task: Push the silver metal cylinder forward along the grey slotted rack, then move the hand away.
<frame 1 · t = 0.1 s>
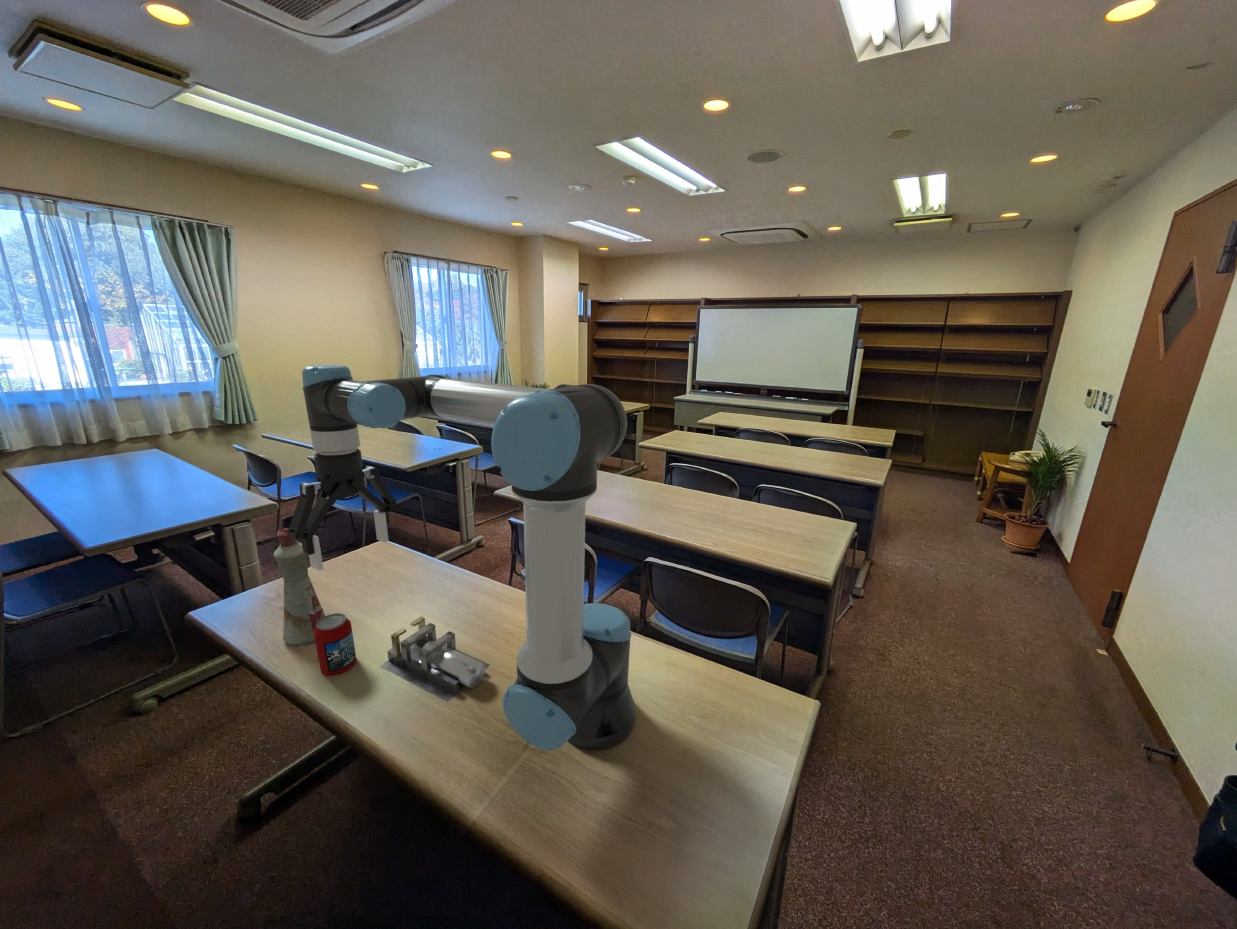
hand: (352, 553, 92), 28 cm above the table, fingers open, 13 cm apart
beverage can: (339, 669, 100), on the table
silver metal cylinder: (452, 673, 98), point 1 cm above the table, touching grey slotted rack
grey slotted rack: (435, 669, 101), on the table
bottle: (306, 636, 110), on the table
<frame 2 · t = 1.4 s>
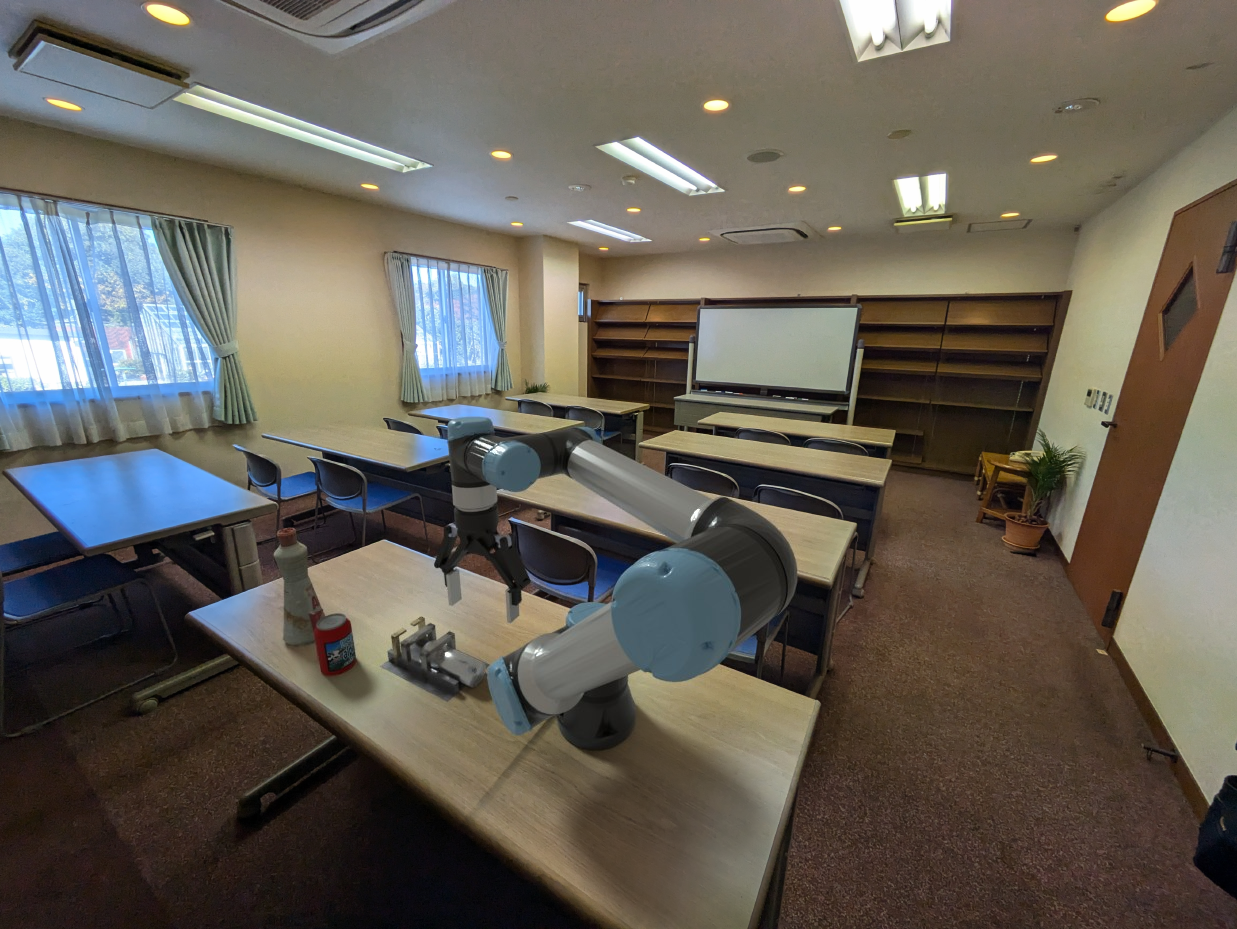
hand: (483, 610, 88), 21 cm above the table, fingers open, 13 cm apart
nothing on the table moved.
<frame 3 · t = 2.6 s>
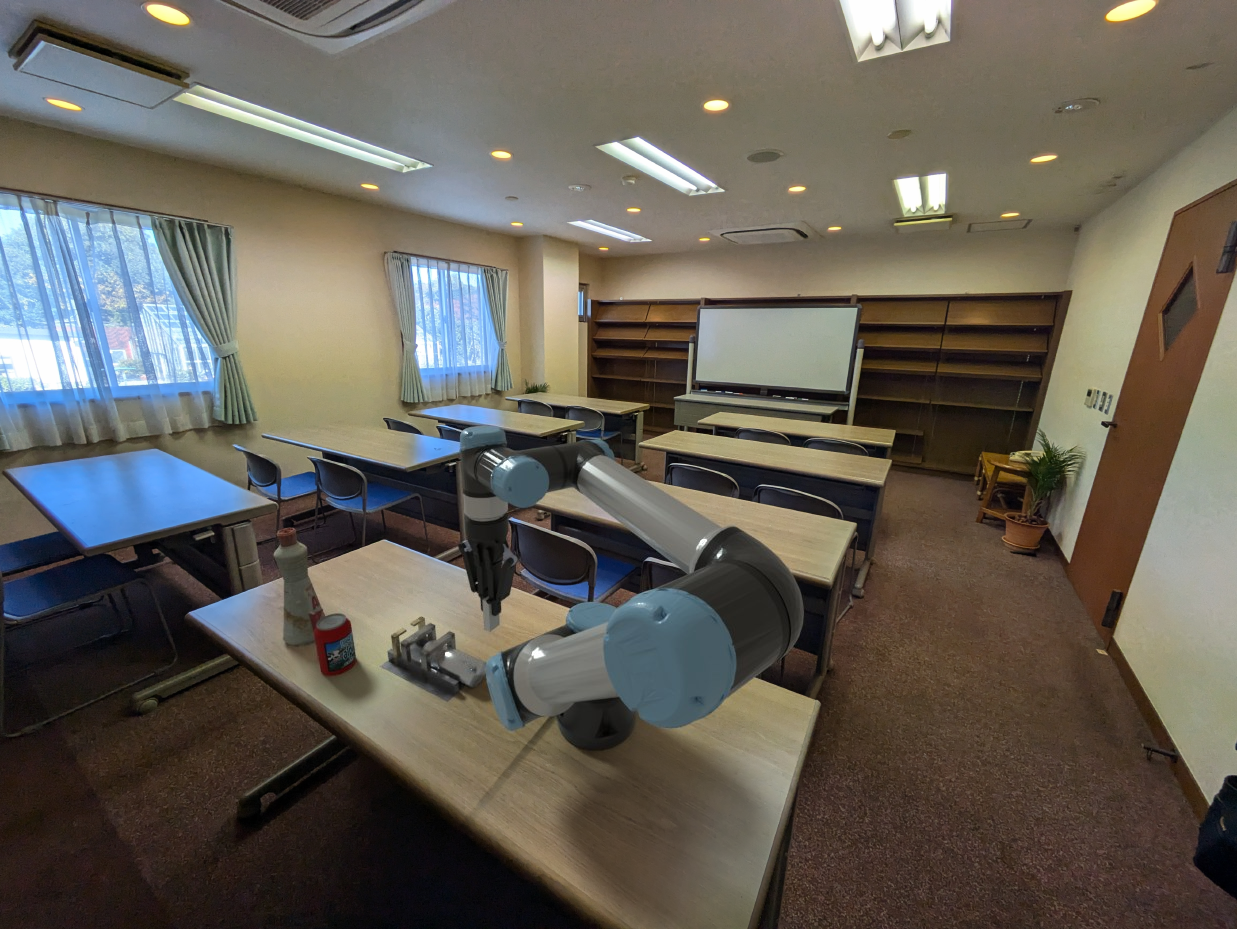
hand: (491, 626, 89), 17 cm above the table, fingers closed
nothing on the table moved.
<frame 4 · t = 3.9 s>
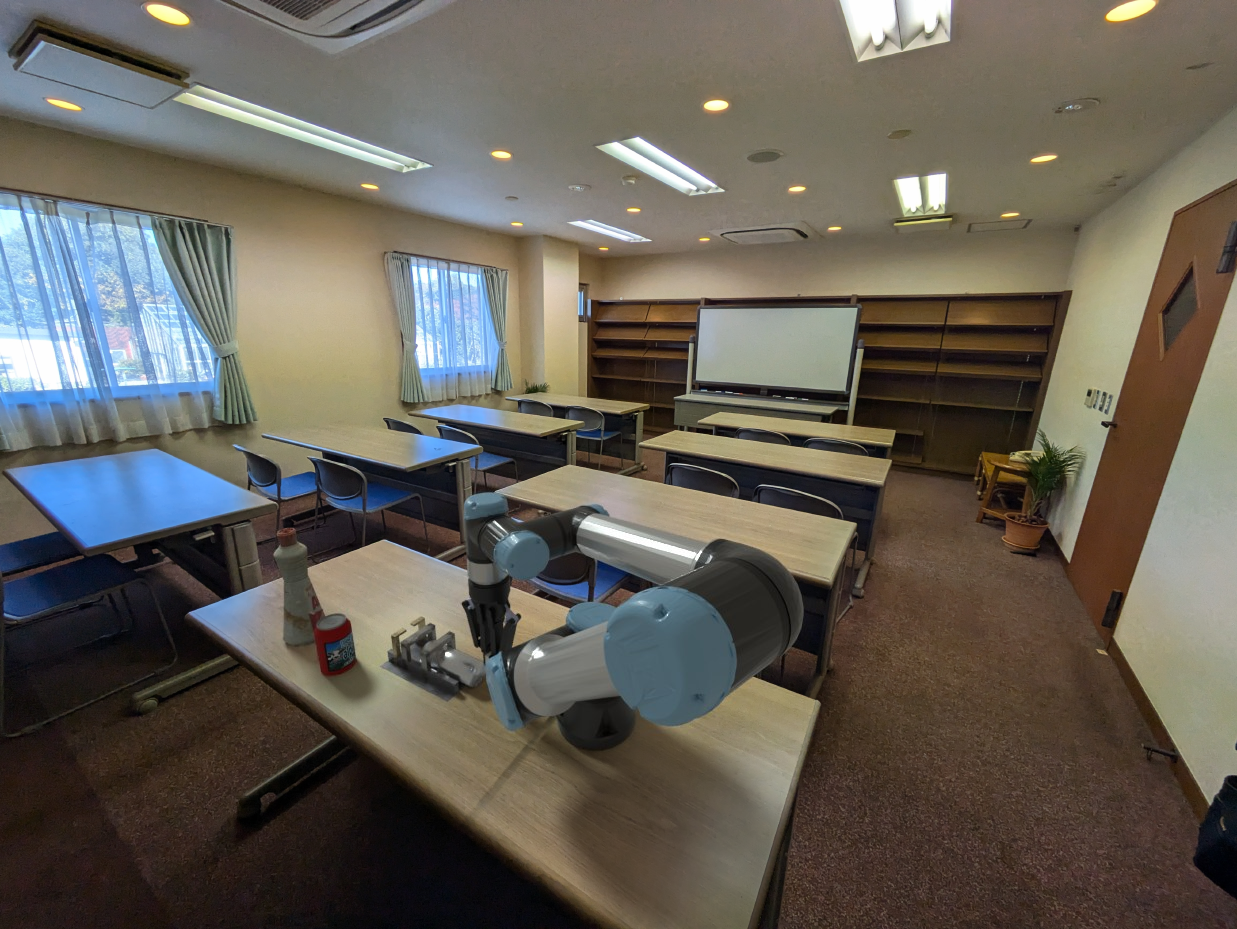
hand: (494, 679, 92), 4 cm above the table, fingers closed
nothing on the table moved.
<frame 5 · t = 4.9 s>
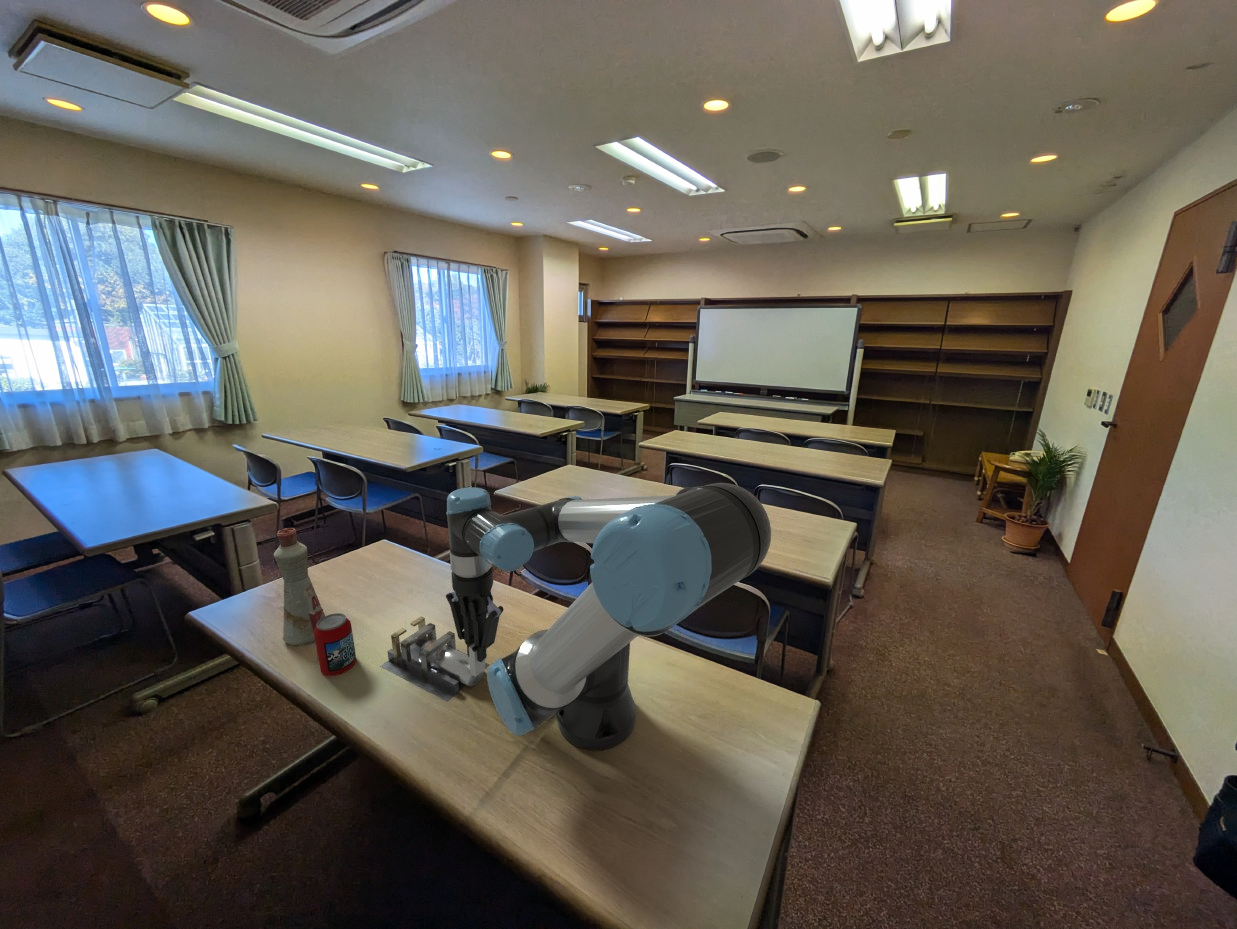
hand: (477, 671, 94), 5 cm above the table, fingers closed
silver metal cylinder: (450, 672, 99), point 1 cm above the table, tilted 7°, touching grey slotted rack, gripper
everything else where it was.
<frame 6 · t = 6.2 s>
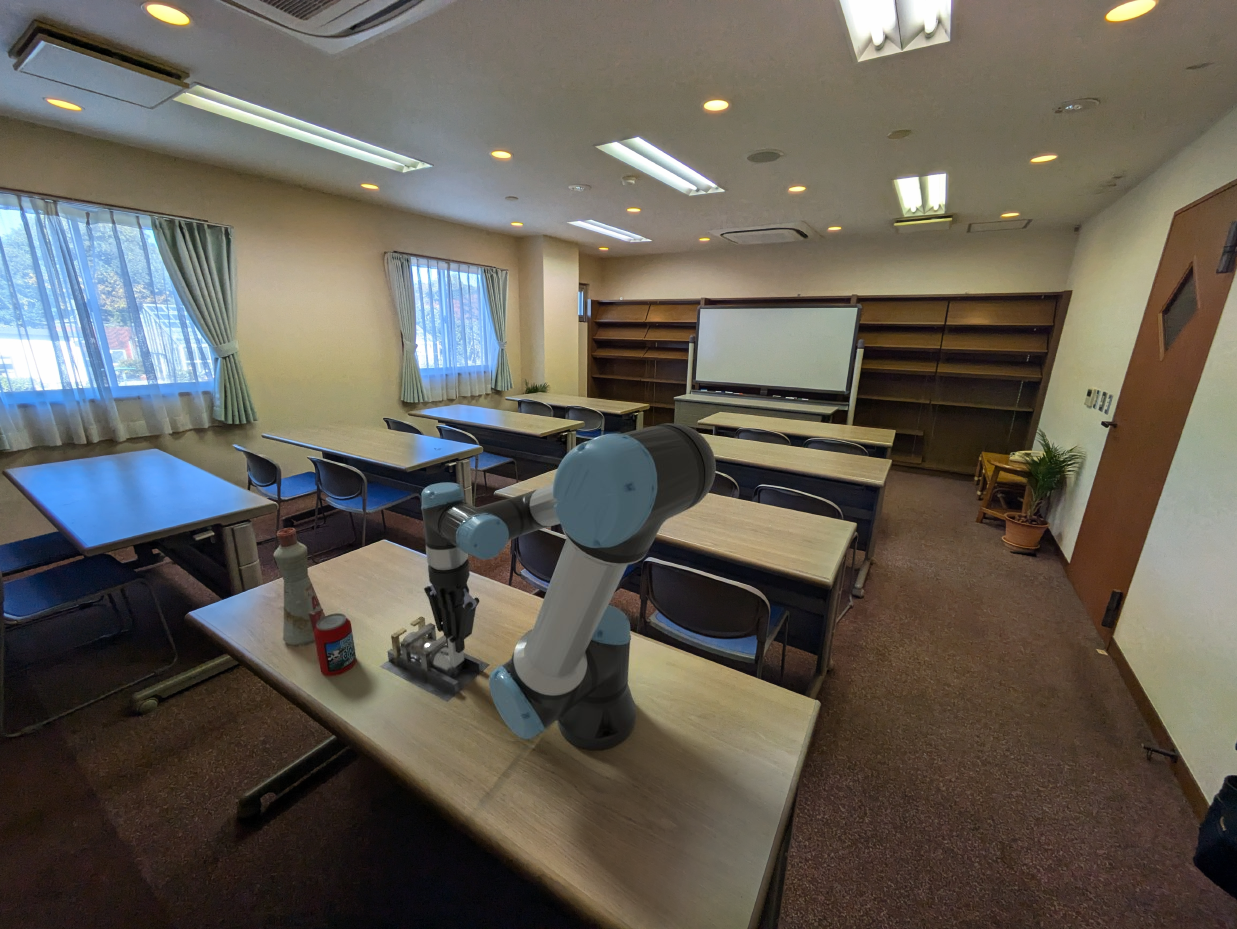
hand: (457, 662, 97), 4 cm above the table, fingers closed
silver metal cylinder: (432, 663, 101), point 1 cm above the table, tilted 6°, touching grey slotted rack, gripper
everything else where it was.
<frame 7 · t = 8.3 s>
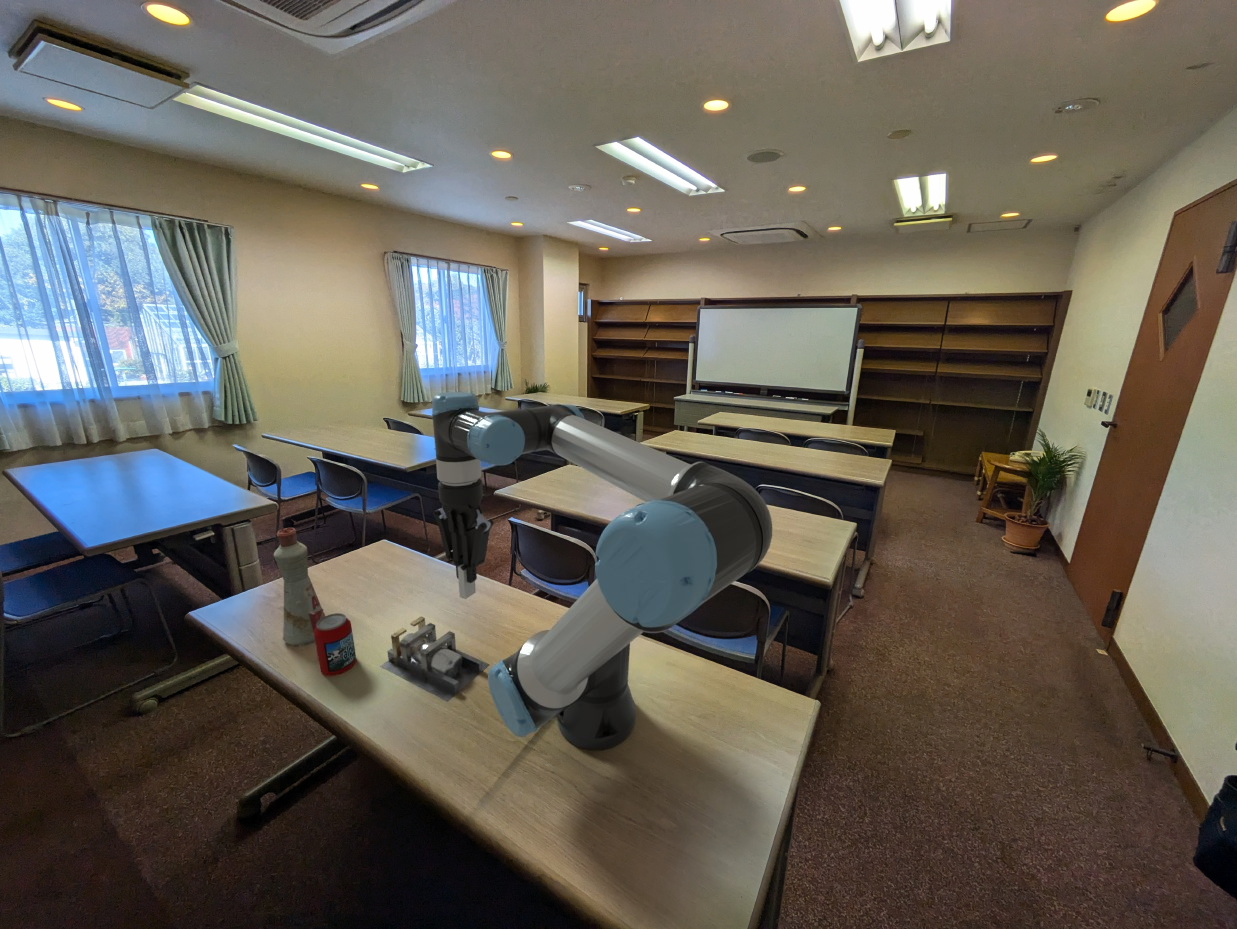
hand: (467, 594, 90), 22 cm above the table, fingers closed
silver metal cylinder: (431, 663, 101), point 1 cm above the table, tilted 7°, touching grey slotted rack
everything else where it was.
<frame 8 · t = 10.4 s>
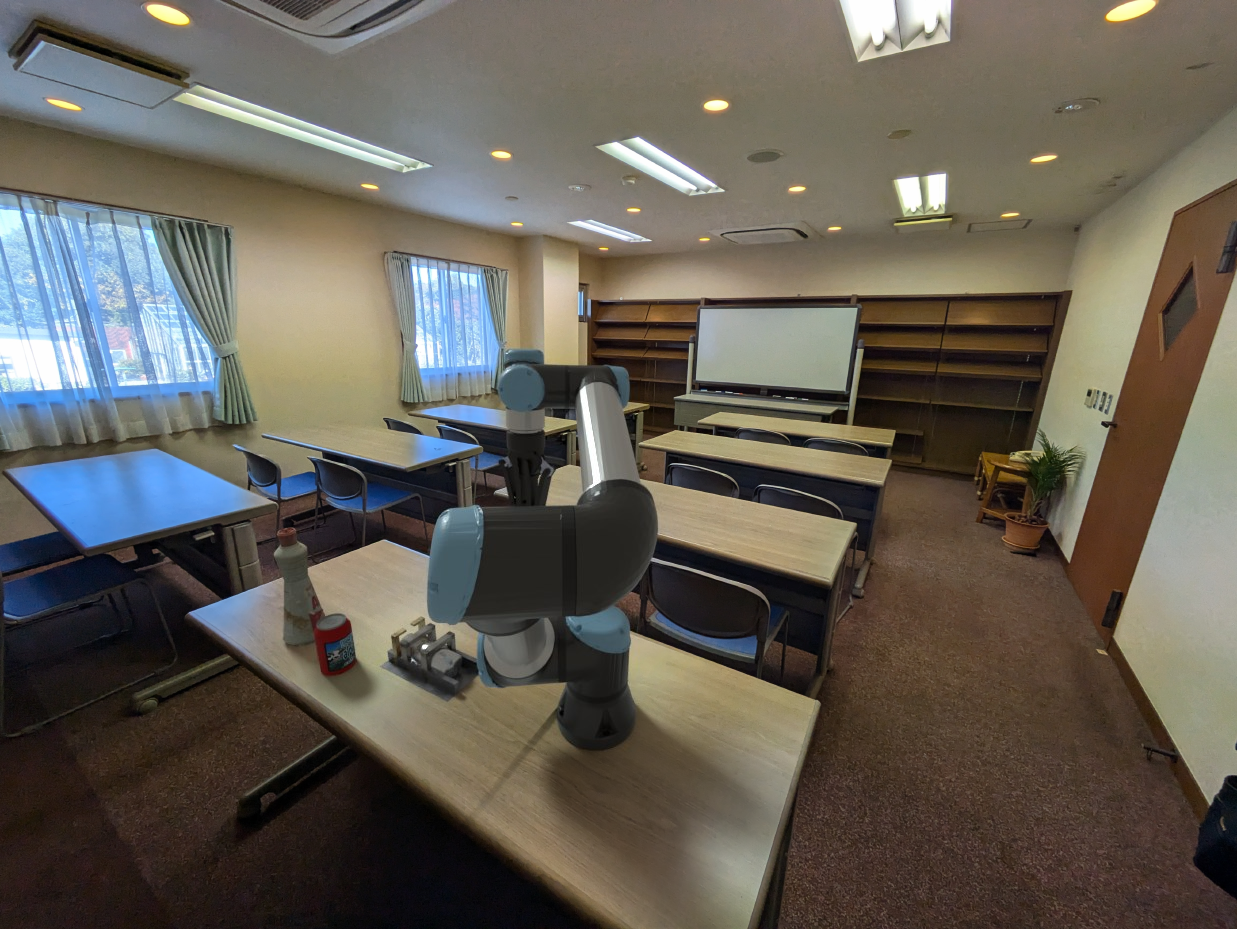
hand: (528, 537, 98), 29 cm above the table, fingers closed
nothing on the table moved.
at the end: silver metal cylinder 1.0 cm from the target spot, point 1.0 cm above the table; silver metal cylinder moved 6.0 cm from its start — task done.
